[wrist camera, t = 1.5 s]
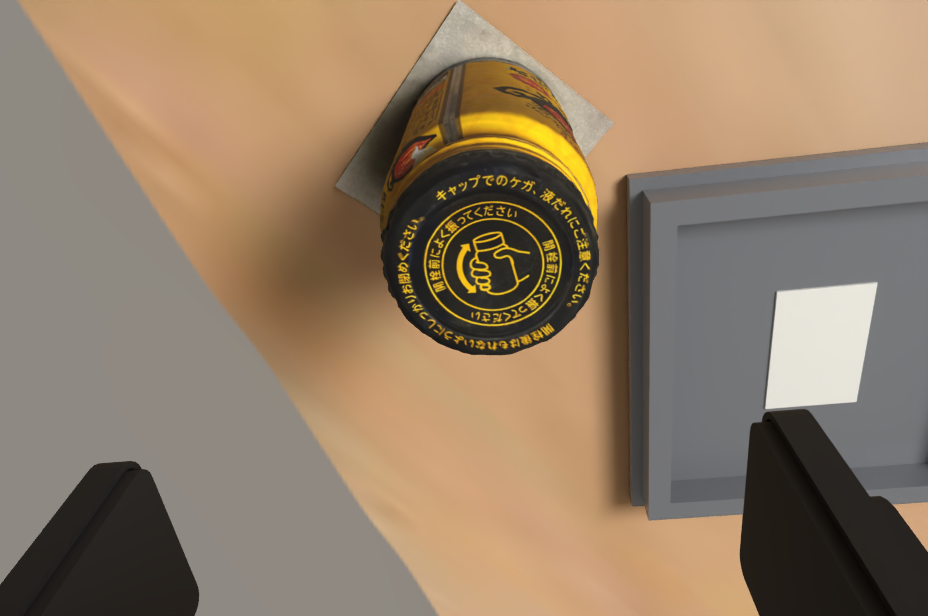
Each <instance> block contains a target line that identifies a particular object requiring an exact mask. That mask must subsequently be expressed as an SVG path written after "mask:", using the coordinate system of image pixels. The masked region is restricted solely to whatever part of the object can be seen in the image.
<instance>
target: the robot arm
mask: <svg viewBox="0 0 928 616" xmlns="http://www.w3.org/2000/svg"><path fill="white" fill-rule="evenodd" d="M740 563H741V568H742V572H743V576H744V579H745V581H746V584H747V586H748V589H749V591H750V594H751V596H752V598H753V601H754V603H755V606H756V608H757V611H758V613H759V616H928V552H927V550H926V549H925V548H924V546H923V545H922V544H921V542H920V541H919V540H918V538H917V537H916V535H915V534H914V533H913V531H912V530H911V529H910V527H909V526H908V525H907V523H906V522H905V521H904V519H903V518H902V516H901V515H900V514H899V512H898V511H897V510H896V508H895V507H894V506H893V505H892V504H891V503H890V502H889V501H888V500H887V499H885V498H883V497H881V496H871V497H870V496H869V494H868V493H867V491H866V490H865V489H864V487H863V486H862V484H861V483H860V482H859V480H858V479H857V477H856V476H855V474H854V473H853V472H852V470H851V469H850V467H849V466H848V465H847V463H846V462H845V460H844V459H843V457H842V456H841V455H840V453H839V452H838V450H837V449H836V447H835V446H834V445H833V443H832V442H831V440H830V439H829V438H828V436H827V435H826V433H825V432H824V430H823V429H822V428H821V426H820V425H819V423H818V422H817V421H816V419H815V418H814V416H813V415H812V414H811V413H810V412H809V410H806V409H795V410H782V411H769V412H766V413H764V415H763V417H762V422H755V423H752V425H751V427H750V436H749V448H748V460H747V472H746V484H745V496H744V508H743V520H742V532H741V544H740ZM198 602H199V590H198V586H197V583H196V581H195V578H194V576H193V574H192V571H191V569H190V567H189V564H188V562H187V559H186V557H185V554H184V552H183V549H182V547H181V545H180V542H179V540H178V537H177V535H176V533H175V530H174V528H173V525H172V523H171V521H170V518H169V516H168V513H167V511H166V509H165V506H164V504H163V502H162V499H161V497H160V494H159V492H158V489H157V487H156V485H155V482H154V480H153V477H152V475H151V474H150V472H149V471H148V470H144V469H141V467H140V466H139V464H137V463H136V462H132V461H126V462H113V463H100V464H97V465H94V466H93V467H92V468H91V469H90V470H89V471H88V472H87V474H86V475H85V476H84V478H83V479H82V480H81V481H80V483H79V484H78V485H77V486H76V488H75V489H74V490H73V492H72V493H71V494H70V495H69V497H68V498H67V499H66V501H65V502H64V503H63V505H62V506H61V507H60V509H59V510H58V511H57V512H56V514H55V515H54V516H53V517H52V519H51V520H50V521H49V523H48V524H47V525H46V526H45V528H44V529H43V530H42V532H41V533H40V535H39V536H38V537H37V538H36V539H35V541H34V542H33V543H32V545H31V546H30V547H29V548H28V550H27V551H26V552H25V554H24V555H23V556H22V557H21V559H20V560H19V561H18V563H17V564H16V565H15V567H14V568H13V569H12V570H11V572H10V573H9V574H8V575H7V577H6V578H5V579H4V581H3V582H2V583H1V585H0V616H194V615H195V613H196V610H197V607H198Z"/></svg>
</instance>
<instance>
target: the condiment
mask: <svg viewBox="0 0 928 616" xmlns="http://www.w3.org/2000/svg"><path fill="white" fill-rule="evenodd" d="M613 125H614V122H612V121H611V120H610V119H609V118H607V117H606V116H605V115H604V114H602V113H601V112H600V111H599V110H597V109H596V108H595V107H594V106H592V105H591V104H590V103H589V102H588V101H586V100H585V99H584V98H582V97H581V96H580V95H579V94H578V93H576V92H575V91H574V90H573V89H571V88H570V87H569V86H568V85H566V84H565V83H564V82H563V81H561V80H560V79H559V78H558V77H556V76H555V75H554V74H553V73H551V72H550V71H549V70H548V69H546V68H545V67H544V66H543V65H541V64H540V63H539V62H538V61H536V60H535V59H534V58H533V57H531V56H530V55H529V54H528V53H526V52H525V51H524V50H522V49H521V48H520V47H519V46H517V45H516V44H515V43H514V42H512V41H511V40H510V39H509V38H507V37H506V36H505V35H504V34H502V33H501V32H500V31H499V30H497V29H496V28H494V27H493V26H492V25H491V24H490V23H488V22H487V21H486V20H485V19H483V18H482V17H481V16H480V15H478V14H477V13H476V12H475V11H473V10H472V9H471V8H470V7H468V6H467V5H466V4H465V3H463V2H462V1H461V0H458V2H457V3H456V5H455V6H454V8H453V9H452V11H451V12H450V14H449V15H448V17H447V18H446V20H445V21H444V23H443V24H442V26H441V27H440V29H439V30H438V32H437V33H436V35H435V36H434V38H433V39H432V41H431V42H430V44H429V45H428V47H427V48H426V50H425V51H424V53H423V54H422V56H421V57H420V59H419V60H418V62H417V63H416V65H415V66H414V68H413V69H412V70H411V72H410V73H409V75H408V77H407V78H406V80H405V81H404V83H403V84H402V86H401V87H400V89H399V90H398V92H397V93H396V95H395V96H394V98H393V99H392V100H391V102H390V104H389V105H388V107H387V108H386V110H385V111H384V113H383V114H382V116H381V117H380V119H379V121H378V122H377V123H376V125H375V126H374V128H373V129H372V131H371V132H370V134H369V135H368V137H367V138H366V140H365V141H364V143H363V144H362V145H361V147H360V149H359V150H358V152H357V153H356V155H355V156H354V158H353V159H352V161H351V163H350V164H349V165H348V167H347V168H346V170H345V171H344V173H343V174H342V176H341V177H340V179H339V180H338V182H337V183H336V185H335V187H336V188H338V189H340V190H341V191H343V192H344V193H346V194H347V195H349V196H351V197H353V198H354V199H356V200H358V201H359V202H361V203H362V204H364V205H365V206H367V207H368V208H370V209H372V210H373V211H375V212H376V213H378V214H379V215H380V227H381V231H382V233H381V239H382V241H383V247H382V251H381V260H382V261H383V264H384V266H383V273H384V277H385V278H386V280H387V281H388V291H389V292H390V293H391V295H392V297H393V298H395V299H396V301H397V303H398V307H399V308H400V309H401V311H402V313H403V315H404V316H405V318H406V319H407V320H408V321H409V322H410V323H412V324H413V325H414V326H415V327H416V328H418V329H419V330H420V331H421V332H422V333H424V334H426V335H427V336H429V337H431V338H432V339H433V340H435V341H436V342H437V343H439V344H442V345H444V346H446V347H449V348H451V349H454V350H458V351H460V352H462V353H468V354H471V355H508V354H513V353H516V352H518V351H521V350H523V349H526V348H530V347H532V346H534V345H537V344H539V343H541V342H545V341H548V340H549V339H551V338H552V337H553V336H555V335H556V334H557V333H559V332H560V331H561V330H562V329H563V328H564V327H565V326H566V325H567V324H568V323H569V322H570V321H571V320H573V319H574V318H575V316H576V314H577V313H578V312H579V310H580V309H581V308H582V307H583V306H584V304H585V303H586V301H587V300H588V298H589V295H590V291H591V286H592V282H593V280H594V278H595V276H596V274H597V268H598V266H599V249H598V243H597V240H598V235H597V222H598V209H597V201H598V200H597V195H596V189H595V183H594V180H593V177H592V174H591V172H590V169H589V167H588V165H587V163H586V161H585V157H586V156H587V155H588V154H589V152H590V151H591V150H592V149H593V147H594V146H595V145H596V144H597V142H598V141H599V140H600V139H601V138H602V137H603V135H604V134H605V133H606V132H607V131H608V130H609V129H610V128H611V127H612V126H613Z"/></svg>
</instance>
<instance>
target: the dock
mask: <svg viewBox="0 0 928 616" xmlns="http://www.w3.org/2000/svg"><path fill="white" fill-rule="evenodd" d="M627 249H628V344H629V440H630V499H631V503H632V506H643V505H644V506H645V509H646V513H647V516H648V520H664V519H679V518H694V517H709V516H724V515H739V514H743V508H744V496H745V484H746V472H747V460H748V448H749V436H750V427H751V425H752V423H755V422H762V417H763V415H764V413H766V412H769V411H782V410H795V409H806V410H809V412H810V413H811V414H812V415H813V416H814V418H815V419H816V421H817V422H818V423H819V425H820V426H821V428H822V429H823V430H824V432H825V433H826V435H827V436H828V438H829V439H830V440H831V442H832V443H833V445H834V446H835V447H836V449H837V450H838V452H839V453H840V455H841V456H842V457H843V459H844V460H845V462H846V463H847V465H848V466H849V467H850V469H851V470H852V472H853V473H854V474H855V476H856V477H857V479H858V480H859V482H860V483H861V484H862V486H863V487H864V489H865V490H866V491H867V493H868V494H869V496H870V497H871V496H881V497H883V498H885V499H887V500H888V501H889V502H890V503H891V504H906V503H921V502H928V143H918V144H909V145H900V146H890V147H881V148H872V149H862V150H853V151H843V152H834V153H825V154H815V155H806V156H797V157H787V158H778V159H769V160H759V161H750V162H741V163H731V164H722V165H712V166H703V167H694V168H684V169H675V170H666V171H656V172H647V173H638V174H628V175H627Z"/></svg>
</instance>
